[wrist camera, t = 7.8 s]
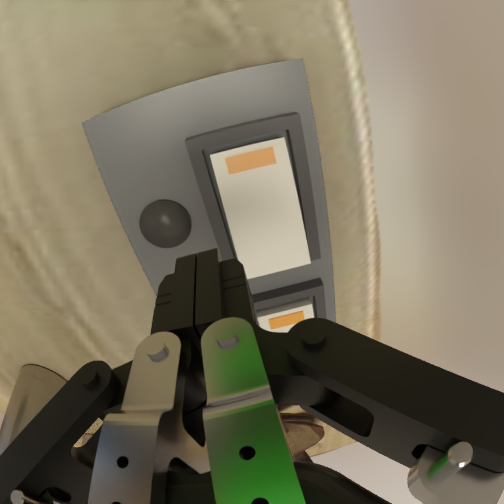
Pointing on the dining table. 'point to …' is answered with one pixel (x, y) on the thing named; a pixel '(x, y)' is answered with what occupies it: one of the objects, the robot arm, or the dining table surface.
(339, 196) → the dining table surface
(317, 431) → the oil lamp
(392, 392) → the robot arm
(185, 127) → the rocker switch panel
